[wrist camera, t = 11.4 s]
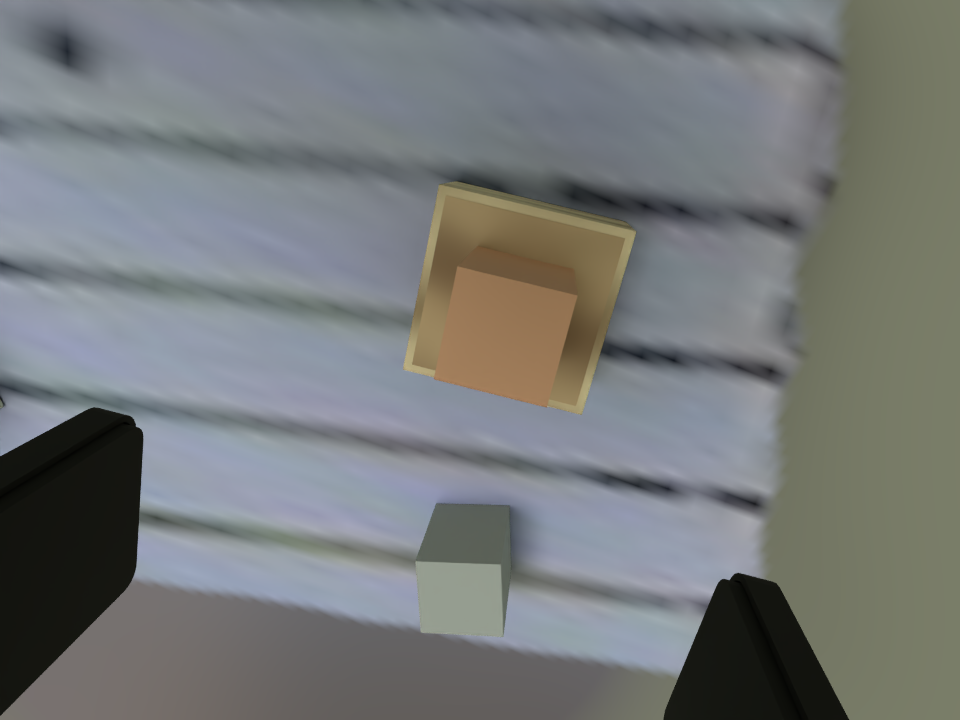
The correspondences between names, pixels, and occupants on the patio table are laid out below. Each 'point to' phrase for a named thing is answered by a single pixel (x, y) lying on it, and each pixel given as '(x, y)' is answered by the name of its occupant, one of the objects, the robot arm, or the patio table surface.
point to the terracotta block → (506, 325)
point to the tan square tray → (531, 234)
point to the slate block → (465, 570)
